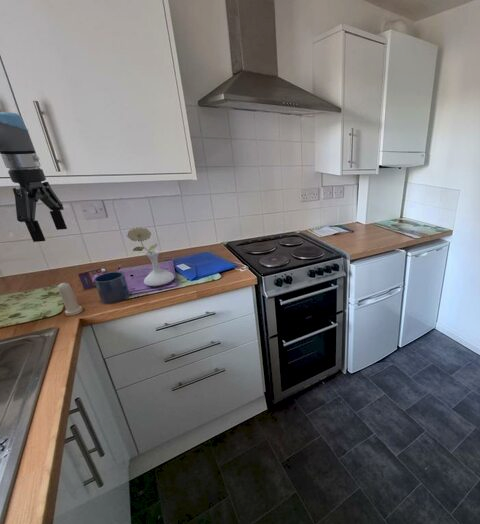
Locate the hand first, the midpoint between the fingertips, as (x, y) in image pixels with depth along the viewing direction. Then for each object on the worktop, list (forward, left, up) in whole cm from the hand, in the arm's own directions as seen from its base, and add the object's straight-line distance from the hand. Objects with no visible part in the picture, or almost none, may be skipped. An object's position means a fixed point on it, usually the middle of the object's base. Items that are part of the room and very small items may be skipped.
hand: (51, 234), depth 100 cm
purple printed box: (-6, +18, -28) cm, 34 cm away
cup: (+9, +6, -28) cm, 30 cm away
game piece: (+1, -4, -28) cm, 28 cm away
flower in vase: (+19, +18, -28) cm, 38 cm away
